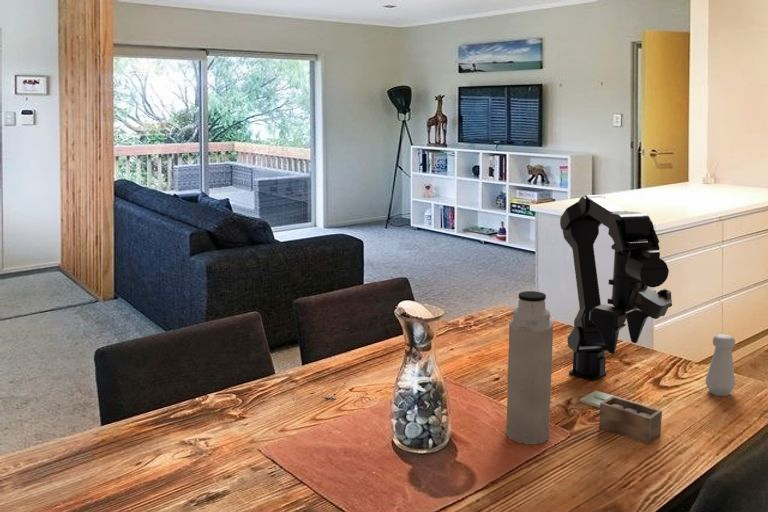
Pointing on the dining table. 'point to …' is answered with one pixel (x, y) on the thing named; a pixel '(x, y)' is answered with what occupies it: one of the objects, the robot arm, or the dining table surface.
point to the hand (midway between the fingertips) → (623, 347)
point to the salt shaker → (721, 366)
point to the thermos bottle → (529, 370)
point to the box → (630, 419)
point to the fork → (328, 398)
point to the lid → (596, 398)
